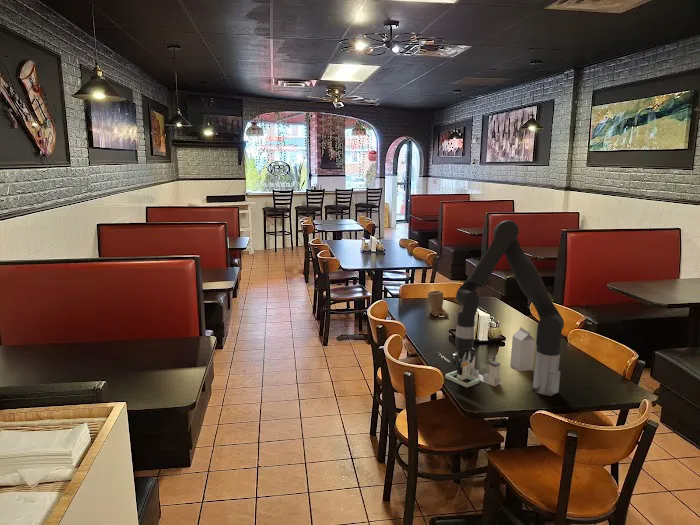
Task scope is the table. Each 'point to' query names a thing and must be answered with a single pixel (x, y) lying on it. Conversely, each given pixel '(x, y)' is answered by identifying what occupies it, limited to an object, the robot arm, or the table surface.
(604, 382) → the table surface
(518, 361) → the milk carton
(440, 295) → the brown boot
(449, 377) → the tray
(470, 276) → the robot arm
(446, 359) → the butter knife
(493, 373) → the block
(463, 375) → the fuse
